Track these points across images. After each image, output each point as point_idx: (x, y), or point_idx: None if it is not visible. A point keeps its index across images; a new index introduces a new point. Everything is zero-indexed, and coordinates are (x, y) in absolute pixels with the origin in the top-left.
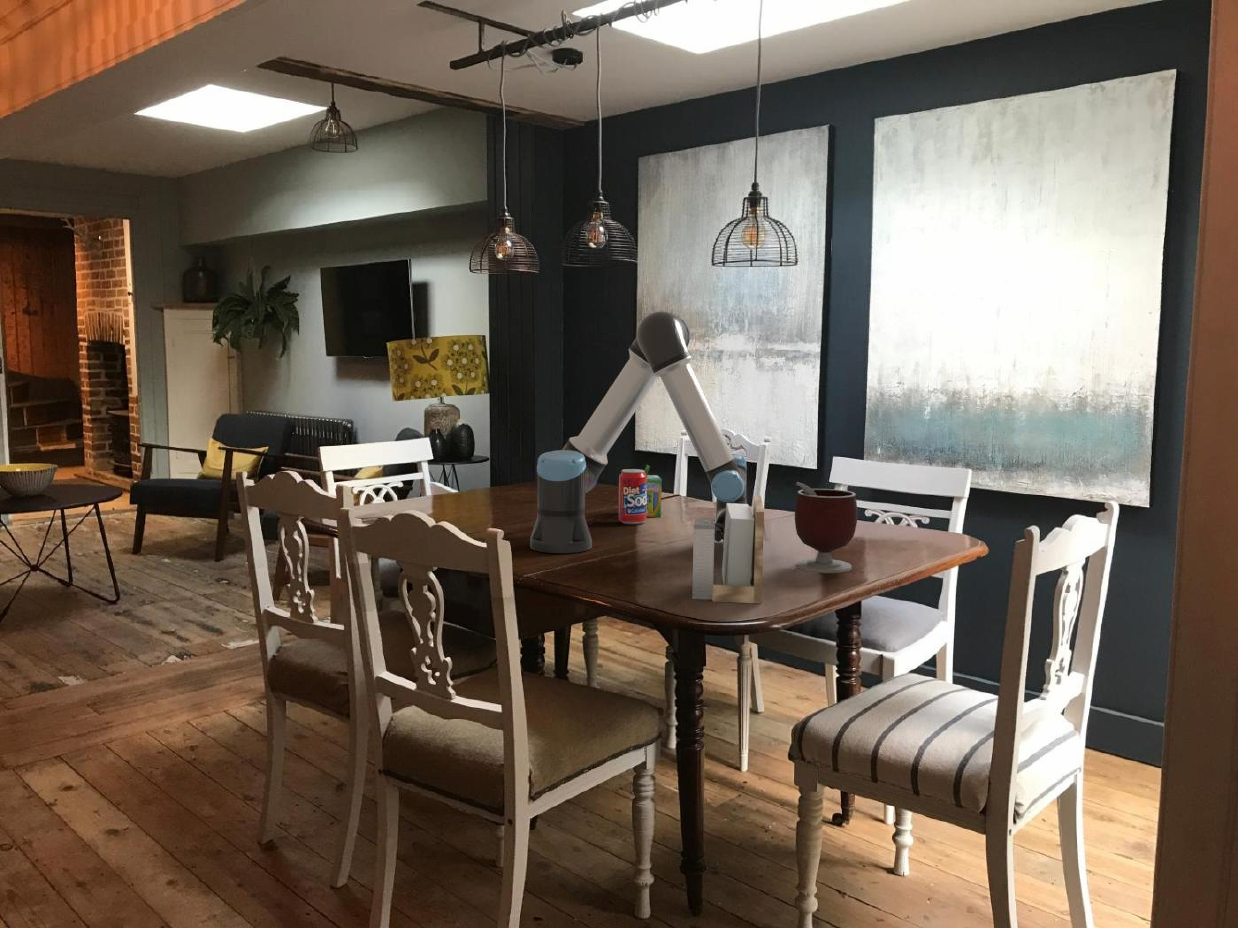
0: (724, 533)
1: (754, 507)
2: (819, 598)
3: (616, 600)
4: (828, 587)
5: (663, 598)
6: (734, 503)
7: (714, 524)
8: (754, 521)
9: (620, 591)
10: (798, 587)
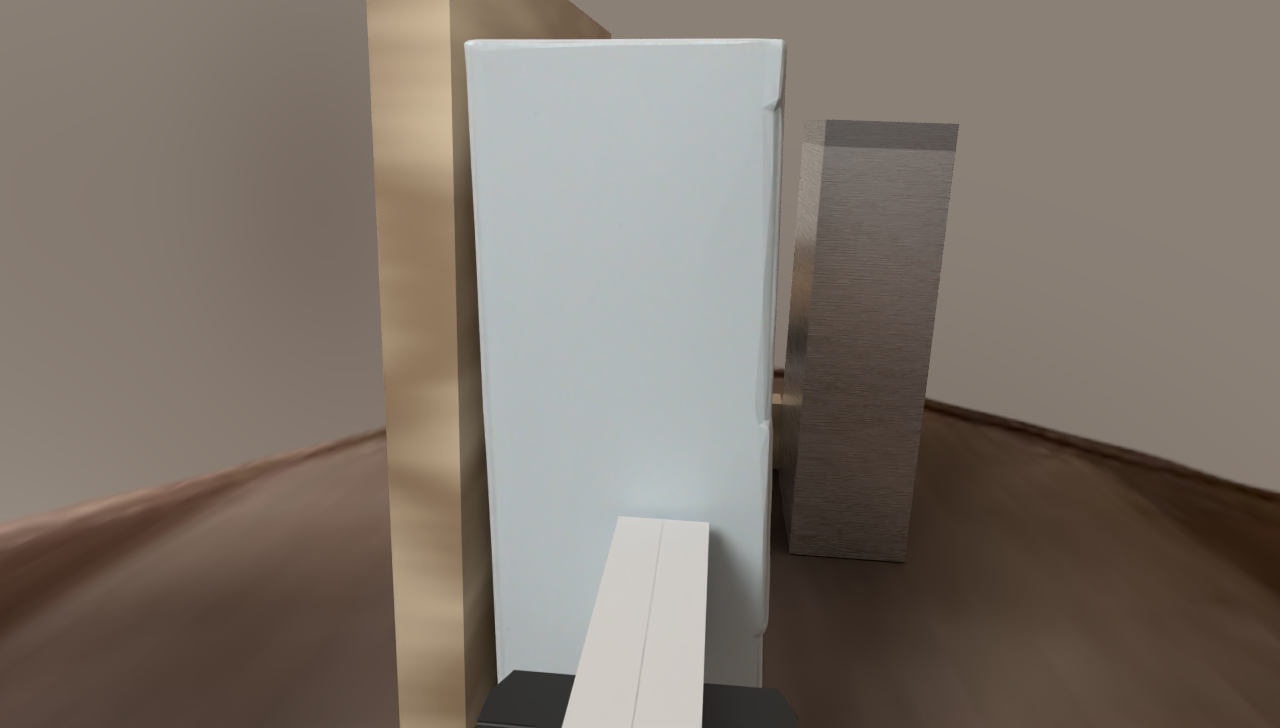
0: (771, 466)
1: (545, 35)
2: (268, 475)
3: (1180, 468)
4: (28, 588)
5: (998, 480)
6: (667, 39)
7: (808, 123)
8: None
9: (1275, 540)
10: (237, 588)
